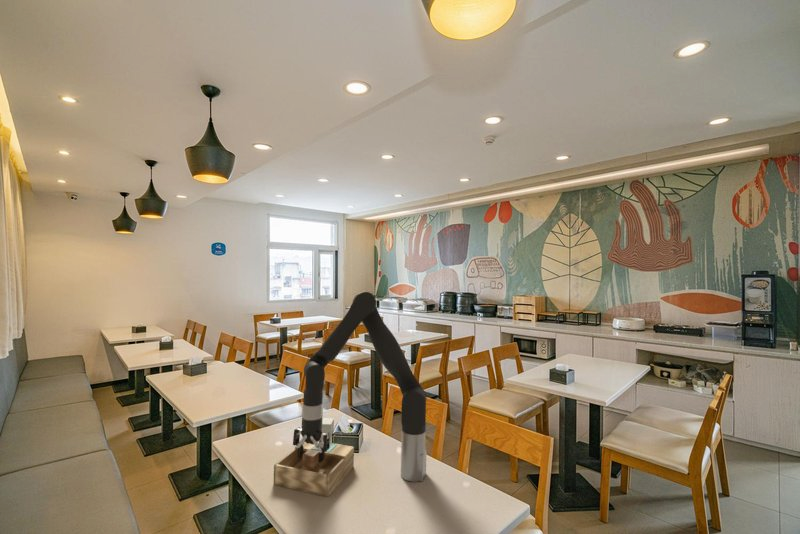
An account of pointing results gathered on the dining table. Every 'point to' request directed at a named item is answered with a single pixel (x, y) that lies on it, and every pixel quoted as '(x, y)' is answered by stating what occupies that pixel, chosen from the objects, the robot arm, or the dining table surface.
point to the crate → (320, 483)
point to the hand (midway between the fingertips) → (310, 459)
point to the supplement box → (328, 427)
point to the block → (311, 461)
